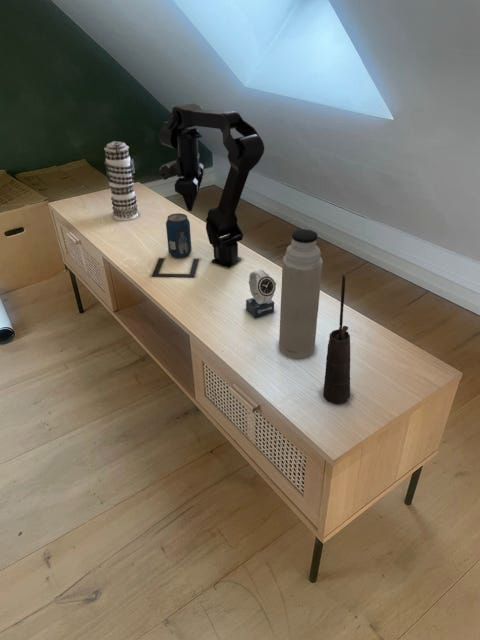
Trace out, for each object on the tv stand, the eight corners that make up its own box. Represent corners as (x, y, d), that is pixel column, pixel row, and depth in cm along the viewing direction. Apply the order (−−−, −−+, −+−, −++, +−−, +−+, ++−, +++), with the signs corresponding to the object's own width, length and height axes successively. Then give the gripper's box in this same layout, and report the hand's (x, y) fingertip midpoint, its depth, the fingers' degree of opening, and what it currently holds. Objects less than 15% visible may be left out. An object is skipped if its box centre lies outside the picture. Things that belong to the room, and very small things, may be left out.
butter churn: (334, 370, 106) (349, 251, 90) (371, 394, 100) (394, 270, 84) (304, 390, 101) (314, 267, 85) (341, 415, 95) (359, 289, 79)
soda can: (178, 247, 156) (175, 210, 149) (196, 252, 153) (194, 215, 146) (164, 256, 151) (160, 218, 144) (182, 261, 148) (179, 223, 141)
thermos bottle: (271, 349, 112) (275, 234, 96) (292, 333, 117) (298, 221, 102) (301, 363, 108) (310, 246, 92) (321, 346, 113) (333, 231, 97)
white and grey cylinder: (111, 212, 179) (100, 140, 165) (137, 209, 182) (128, 138, 168) (114, 222, 172) (102, 148, 158) (141, 218, 175) (131, 145, 160)
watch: (258, 322, 121) (259, 283, 115) (242, 306, 127) (242, 268, 121) (278, 316, 123) (280, 277, 117) (261, 301, 129) (262, 263, 123)
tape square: (159, 258, 149) (158, 258, 149) (198, 259, 149) (198, 258, 149) (151, 276, 140) (151, 276, 140) (194, 277, 140) (194, 276, 140)
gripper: (165, 143, 150) (170, 194, 158) (153, 162, 134) (159, 217, 143) (202, 143, 149) (205, 194, 158) (194, 162, 134) (198, 217, 142)
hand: (192, 205), depth 150 cm, fingers open, 9 cm apart
